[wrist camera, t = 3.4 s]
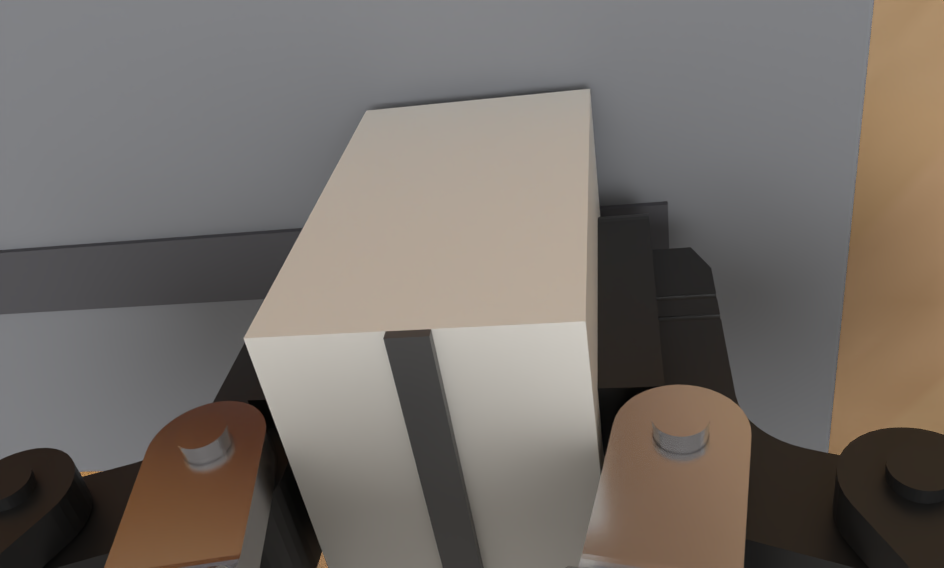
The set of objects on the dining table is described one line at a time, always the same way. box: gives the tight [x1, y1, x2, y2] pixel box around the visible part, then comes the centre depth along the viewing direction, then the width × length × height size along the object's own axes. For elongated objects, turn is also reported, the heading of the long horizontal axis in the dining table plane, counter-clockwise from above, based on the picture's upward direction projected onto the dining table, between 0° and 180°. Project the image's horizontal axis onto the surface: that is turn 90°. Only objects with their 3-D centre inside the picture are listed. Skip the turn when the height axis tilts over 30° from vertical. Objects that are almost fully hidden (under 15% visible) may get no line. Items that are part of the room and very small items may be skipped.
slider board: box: [0, 0, 874, 472], centre depth 15 cm, size 24×9×2 cm, turn 98°
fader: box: [244, 89, 604, 568], centre depth 11 cm, size 3×5×5 cm, turn 8°
